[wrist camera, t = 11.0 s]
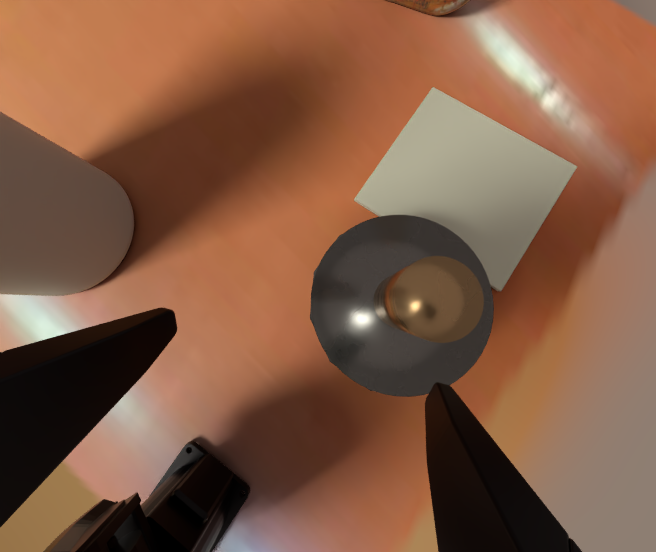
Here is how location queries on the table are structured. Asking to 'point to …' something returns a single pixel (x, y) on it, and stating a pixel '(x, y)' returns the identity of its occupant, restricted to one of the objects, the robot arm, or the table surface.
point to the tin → (432, 5)
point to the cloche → (401, 305)
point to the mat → (469, 181)
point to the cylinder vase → (56, 217)
